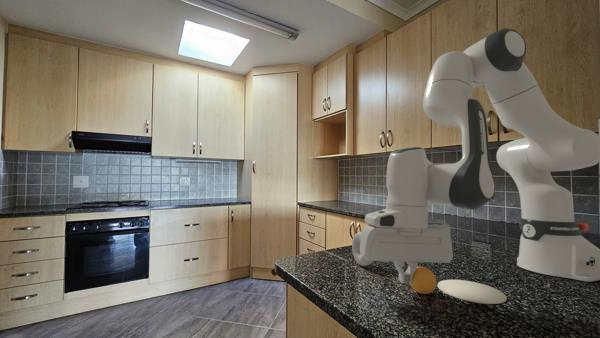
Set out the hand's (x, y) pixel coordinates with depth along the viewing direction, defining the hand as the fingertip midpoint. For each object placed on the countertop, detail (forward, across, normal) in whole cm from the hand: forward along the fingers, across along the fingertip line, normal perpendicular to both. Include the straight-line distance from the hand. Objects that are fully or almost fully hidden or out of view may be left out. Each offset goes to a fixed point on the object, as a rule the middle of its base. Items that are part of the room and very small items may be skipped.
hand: (405, 281), depth 57 cm
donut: (+3, +3, -20) cm, 21 cm away
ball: (0, -4, 0) cm, 4 cm away
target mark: (+2, -15, 0) cm, 16 cm away
